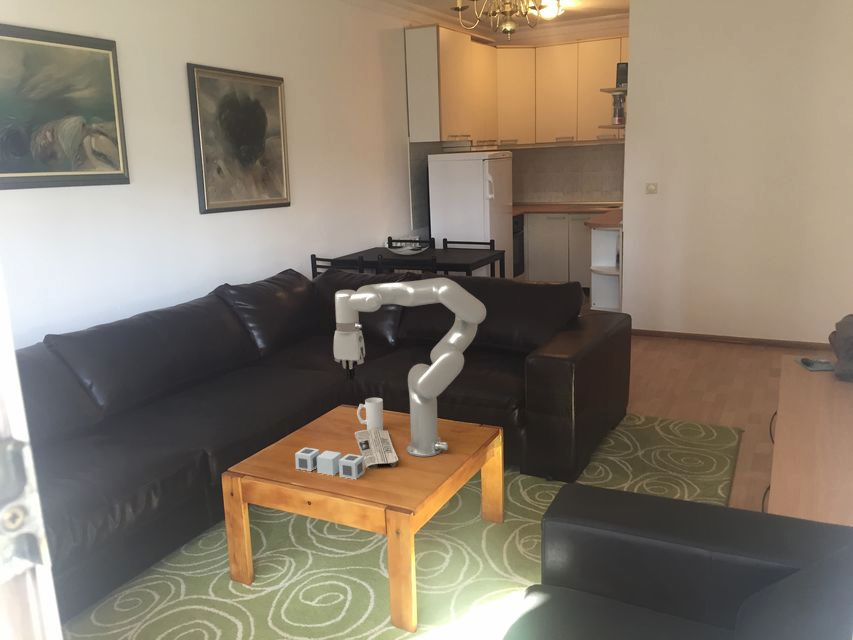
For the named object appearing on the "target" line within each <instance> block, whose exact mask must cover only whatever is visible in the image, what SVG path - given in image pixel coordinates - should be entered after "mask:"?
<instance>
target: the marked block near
mask: <svg viewBox="0 0 853 640" xmlns="http://www.w3.org/2000/svg"><path fill="white" fill-rule="evenodd" d="M338 473H339V478H341V477H345V478H344V479H347V478H351V479H350V480H353V479H355V480H354V481H357V480H358V479H359V478H360V477H361V476H363V475H364V474H365V463H364V456H362V455H357V454H352V453H347V454H346V455H344V456H343V457H342V458H341V459H340V460H339V472H338ZM357 478H358V479H357Z"/></svg>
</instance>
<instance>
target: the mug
mask: <svg viewBox="0 0 853 640" xmlns="http://www.w3.org/2000/svg"><path fill="white" fill-rule="evenodd" d="M383 401H384V400H383V398H380V397H369V398H366V399H365V400H364V402H365V403H364V404H363V403H359V405H358V407H357V411H356V416H357V418H358V421H359V422H360V424H361V425H366V430H371V429H380V430H383V431H384V407H383V406H384V403H383ZM362 409H365V419H363V418H362V417H361V410H362Z"/></svg>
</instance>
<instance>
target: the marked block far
mask: <svg viewBox="0 0 853 640" xmlns="http://www.w3.org/2000/svg"><path fill="white" fill-rule="evenodd" d="M320 451H321V450H320V449H317V448H311V447H306V446H305V447H303V448H301V449H300V450H298V451H297V452H295V454H294V459H295V470H296V469H301V470H307V471H312V470H314V469H316V468H317V456H319V455H320V454H321V452H320ZM316 470H317V469H316ZM314 471H315V470H314Z"/></svg>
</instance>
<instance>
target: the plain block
mask: <svg viewBox="0 0 853 640" xmlns="http://www.w3.org/2000/svg"><path fill="white" fill-rule="evenodd" d="M341 458H343V457H342V452H339V451H331V450H324V451H323V452H321V453H320V455H319V456H317V469H316V471H317V474H318V473H322V474H321V475H323V474H327V475H326V476H329V475H332V476H331V477H334V476H335V475H337V474H338V473H339V460H340V459H341ZM336 473H337V474H336ZM333 475H334V476H333Z"/></svg>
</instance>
